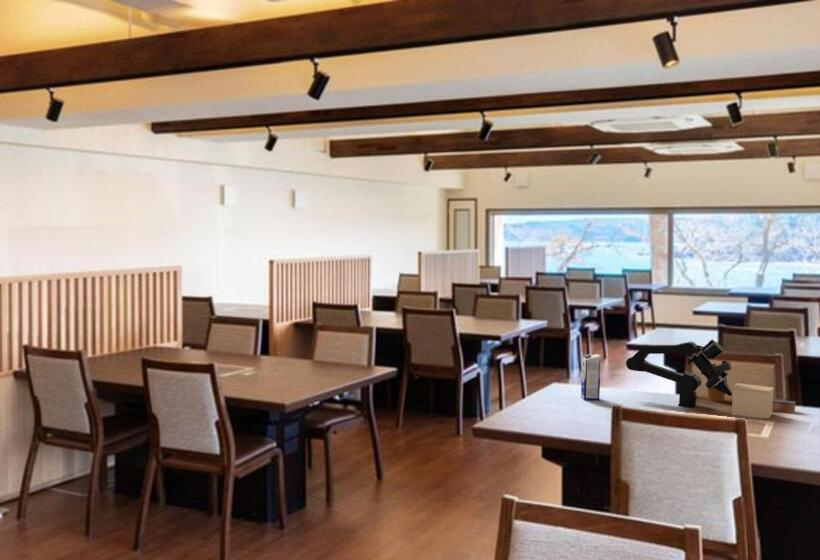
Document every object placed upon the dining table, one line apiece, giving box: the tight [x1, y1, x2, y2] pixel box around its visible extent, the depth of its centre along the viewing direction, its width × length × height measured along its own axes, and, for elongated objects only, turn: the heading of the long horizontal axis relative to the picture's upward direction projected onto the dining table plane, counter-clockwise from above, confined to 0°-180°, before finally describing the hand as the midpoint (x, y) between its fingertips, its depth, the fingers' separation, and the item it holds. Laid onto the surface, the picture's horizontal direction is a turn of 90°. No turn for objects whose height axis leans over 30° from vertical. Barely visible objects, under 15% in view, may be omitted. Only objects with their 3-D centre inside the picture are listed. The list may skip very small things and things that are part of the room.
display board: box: [731, 412, 764, 420], centre depth 320 cm, size 24×13×1 cm, turn 57°
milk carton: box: [580, 353, 602, 402], centre depth 346 cm, size 7×7×20 cm
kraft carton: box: [731, 382, 775, 419], centre depth 322 cm, size 14×9×11 cm, turn 57°
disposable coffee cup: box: [706, 375, 730, 403], centre depth 348 cm, size 10×10×12 cm
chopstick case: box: [772, 398, 797, 414], centre depth 333 cm, size 20×5×5 cm, turn 57°
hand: (731, 395), depth 326 cm, fingers closed
